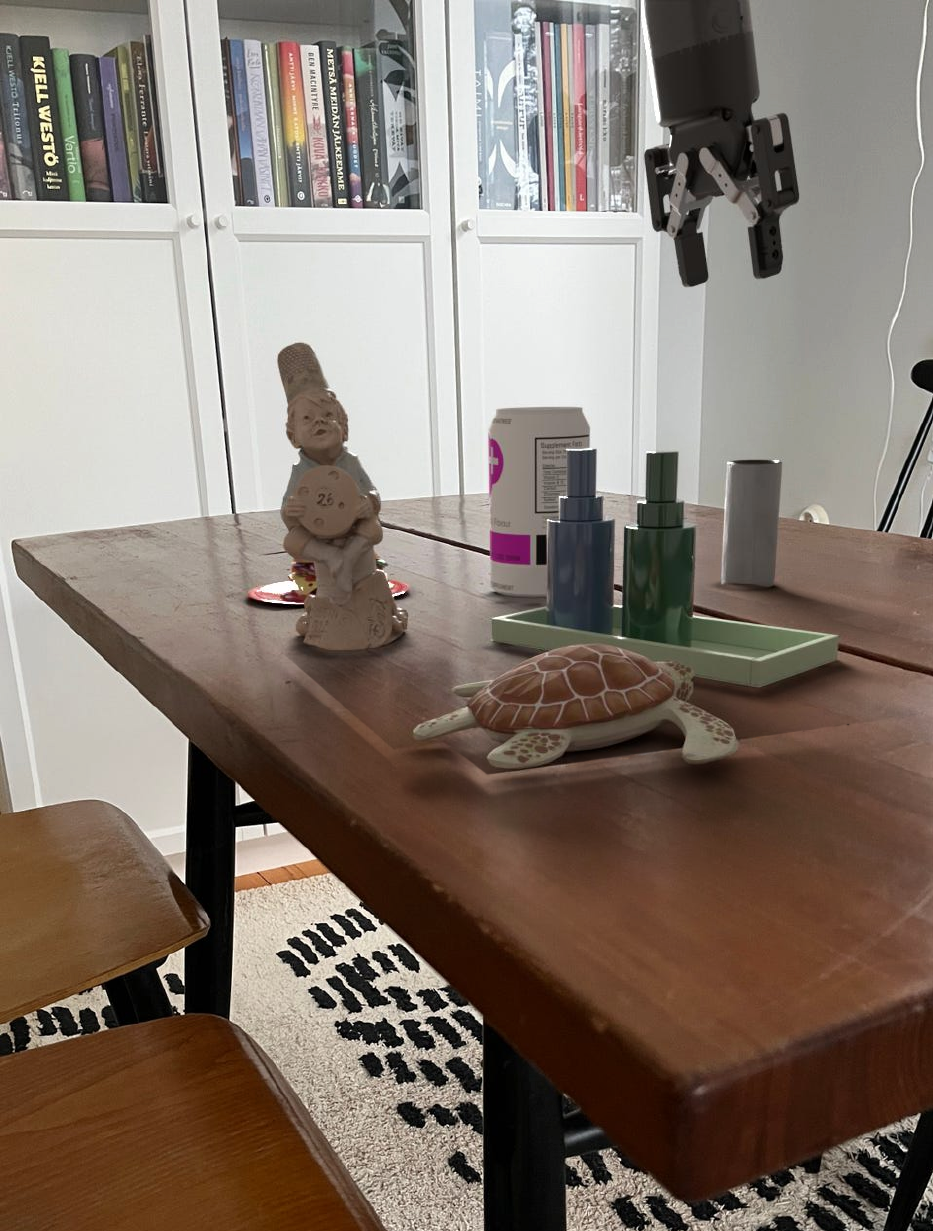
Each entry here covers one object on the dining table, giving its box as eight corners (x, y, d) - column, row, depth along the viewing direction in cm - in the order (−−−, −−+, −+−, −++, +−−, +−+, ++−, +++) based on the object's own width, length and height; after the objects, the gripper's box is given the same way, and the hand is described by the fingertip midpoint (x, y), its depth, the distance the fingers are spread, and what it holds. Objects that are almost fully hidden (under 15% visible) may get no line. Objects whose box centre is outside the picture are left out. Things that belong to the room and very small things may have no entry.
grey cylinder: (725, 579, 109) (732, 459, 106) (777, 581, 108) (785, 459, 104) (716, 588, 105) (722, 463, 102) (770, 590, 104) (778, 463, 100)
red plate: (240, 586, 111) (234, 519, 109) (391, 577, 115) (388, 511, 113) (256, 613, 99) (250, 537, 97) (425, 601, 102) (423, 528, 100)
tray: (836, 666, 77) (839, 635, 76) (758, 694, 71) (760, 660, 70) (575, 626, 91) (576, 599, 90) (491, 646, 85) (491, 618, 84)
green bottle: (669, 639, 84) (676, 447, 79) (704, 652, 80) (714, 451, 75) (609, 645, 82) (612, 450, 78) (642, 659, 78) (647, 454, 74)
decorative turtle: (827, 748, 61) (836, 648, 59) (587, 826, 51) (589, 711, 50) (574, 684, 74) (575, 601, 73) (346, 737, 65) (340, 643, 63)
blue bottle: (594, 627, 88) (597, 445, 84) (624, 639, 84) (629, 448, 80) (536, 633, 86) (535, 448, 82) (563, 645, 82) (564, 451, 78)
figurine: (294, 633, 91) (273, 343, 84) (408, 629, 91) (396, 340, 84) (286, 660, 83) (262, 340, 76) (411, 655, 83) (399, 337, 76)
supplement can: (483, 603, 101) (480, 410, 96) (499, 586, 108) (497, 407, 103) (582, 604, 100) (584, 408, 94) (591, 587, 107) (593, 405, 102)
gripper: (808, 6, 84) (832, 261, 91) (678, 53, 95) (709, 275, 103) (724, 27, 81) (755, 287, 88) (600, 72, 93) (637, 298, 100)
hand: (730, 280), depth 96 cm, fingers open, 8 cm apart
